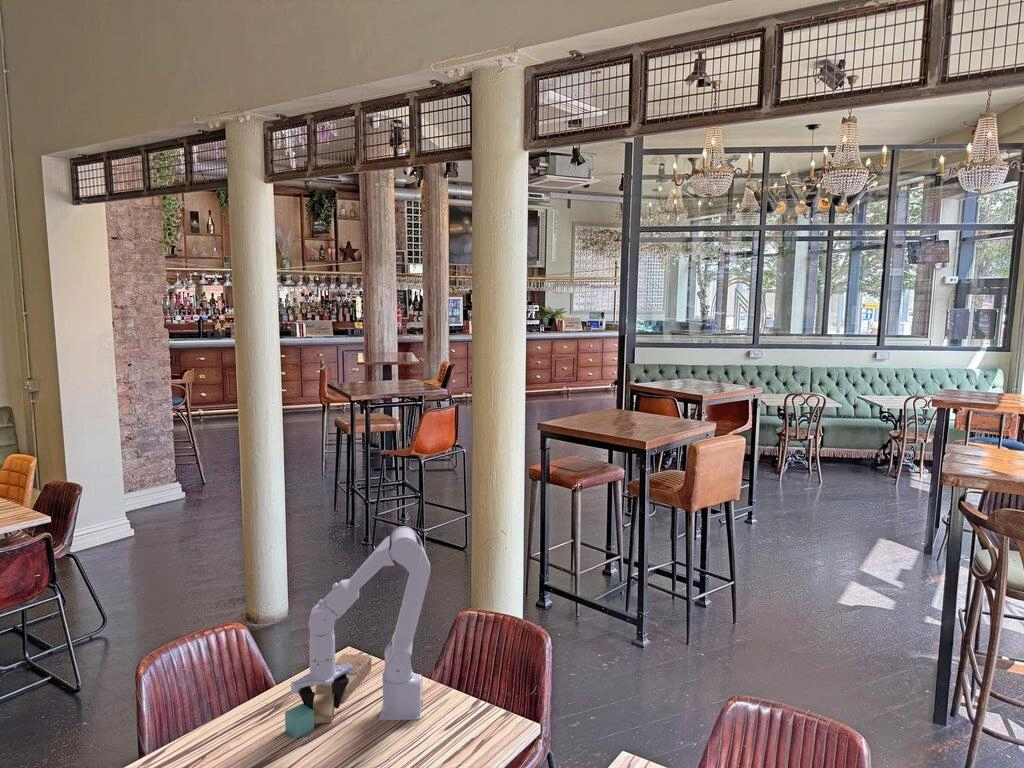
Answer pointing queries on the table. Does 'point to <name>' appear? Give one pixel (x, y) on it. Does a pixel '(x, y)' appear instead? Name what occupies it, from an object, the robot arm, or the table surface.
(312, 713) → the teal block
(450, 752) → the table surface
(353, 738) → the table surface
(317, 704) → the beech block
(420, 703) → the robot arm
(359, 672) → the brick
